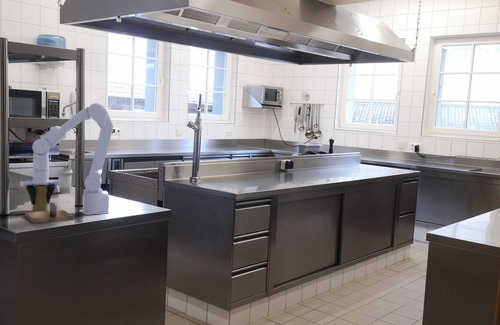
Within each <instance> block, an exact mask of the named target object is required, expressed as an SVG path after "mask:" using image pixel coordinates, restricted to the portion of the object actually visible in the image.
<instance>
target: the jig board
mask: <svg viewBox="0 0 500 325" xmlns="http://www.w3.org/2000/svg"><path fill="white" fill-rule="evenodd" d="M49 215H50V210H48V211H41V212H32V211H29V212H27V211H26V212H25V213H24V217H25V218H27V219H28V220H29V221H30V222H31V223H33V224H39V223H50V222H61V221H72V220H74V215H73V214H71V213H70V212H67V211H66V210H64V209H57V215H56V217H49Z"/></svg>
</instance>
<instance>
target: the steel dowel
mask: <svg viewBox="0 0 500 325" xmlns="http://www.w3.org/2000/svg"><path fill="white" fill-rule="evenodd" d="M57 204H58V202H49V211H50V215H49V217H56V215H57V210H58V209H57V208H58V205H57Z"/></svg>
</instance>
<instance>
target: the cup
mask: <svg viewBox="0 0 500 325" xmlns="http://www.w3.org/2000/svg"><path fill="white" fill-rule="evenodd" d="M73 172H74V171H73V170H72V168H58V171H57V173H58V176H57V177H58V180H60V185H58V187H59V189H58V190H59V193H60V194H66V193H67V194H70V193H71V187H72V180H73V179H72V178H73Z"/></svg>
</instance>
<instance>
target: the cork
mask: <svg viewBox="0 0 500 325" xmlns="http://www.w3.org/2000/svg"><path fill="white" fill-rule="evenodd" d="M34 188H35V205H32V210H31V212H41V211H49V208H48V207H49V206H48V205H49V204H47V197H46V193H47V191H48V188H47V186H46V185H37V186H34Z"/></svg>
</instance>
